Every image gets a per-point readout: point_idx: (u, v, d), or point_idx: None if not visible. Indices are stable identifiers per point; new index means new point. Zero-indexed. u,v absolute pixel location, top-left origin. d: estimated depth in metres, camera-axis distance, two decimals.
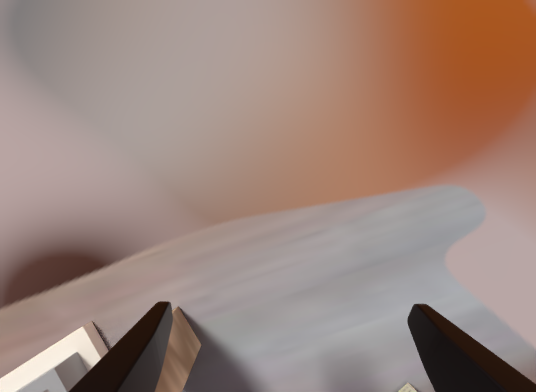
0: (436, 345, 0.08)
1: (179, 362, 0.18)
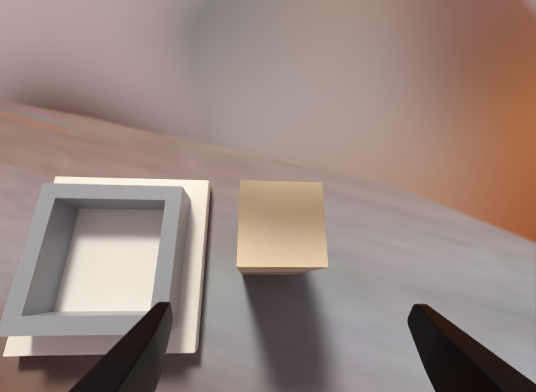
0: (436, 345, 0.08)
1: None
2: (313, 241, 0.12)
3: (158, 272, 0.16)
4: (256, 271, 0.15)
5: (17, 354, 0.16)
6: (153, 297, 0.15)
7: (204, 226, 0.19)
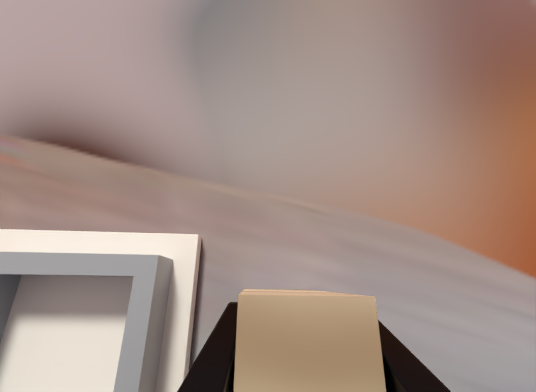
0: None
1: None
2: None
3: None
4: None
5: None
6: None
7: (191, 300, 0.14)
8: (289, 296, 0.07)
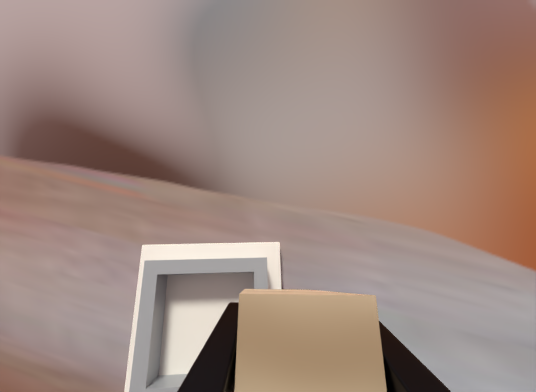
0: None
1: None
2: None
3: None
4: None
5: None
6: None
7: (280, 286, 0.21)
8: (290, 295, 0.07)
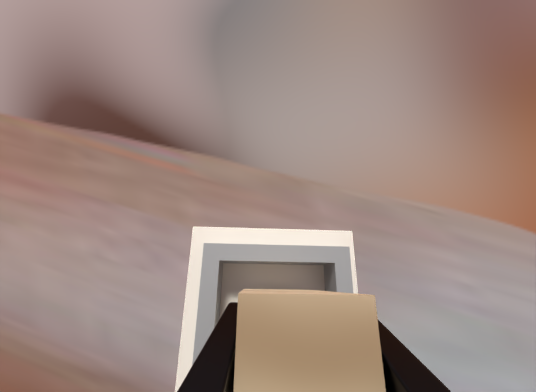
0: None
1: None
2: None
3: None
4: None
5: None
6: None
7: (355, 283, 0.18)
8: (289, 295, 0.07)
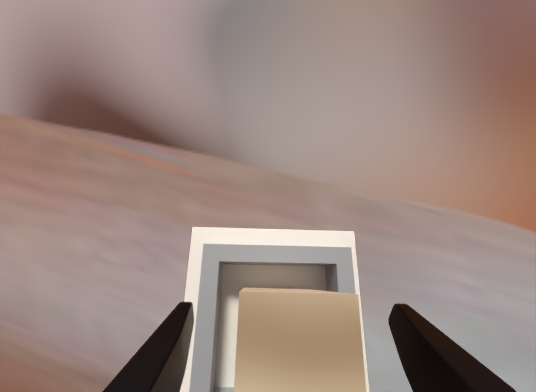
0: (414, 345, 0.08)
1: None
2: None
3: None
4: None
5: None
6: None
7: (357, 285, 0.18)
8: (283, 293, 0.09)
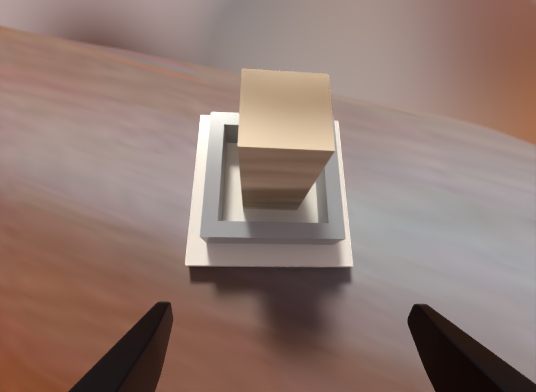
0: (436, 345, 0.08)
1: None
2: (319, 126, 0.11)
3: (328, 188, 0.17)
4: (258, 185, 0.14)
5: (197, 264, 0.17)
6: (328, 208, 0.17)
7: (341, 160, 0.21)
8: (274, 71, 0.12)
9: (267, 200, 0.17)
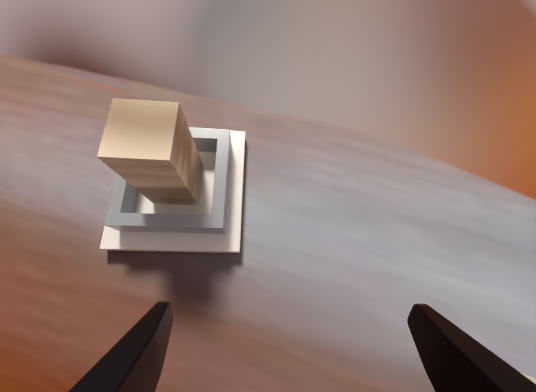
0: (436, 345, 0.08)
1: (188, 170, 0.19)
2: (162, 142, 0.15)
3: (215, 187, 0.21)
4: (143, 184, 0.18)
5: (110, 247, 0.21)
6: (212, 204, 0.21)
7: (243, 164, 0.25)
8: (137, 100, 0.16)
9: (165, 196, 0.21)
